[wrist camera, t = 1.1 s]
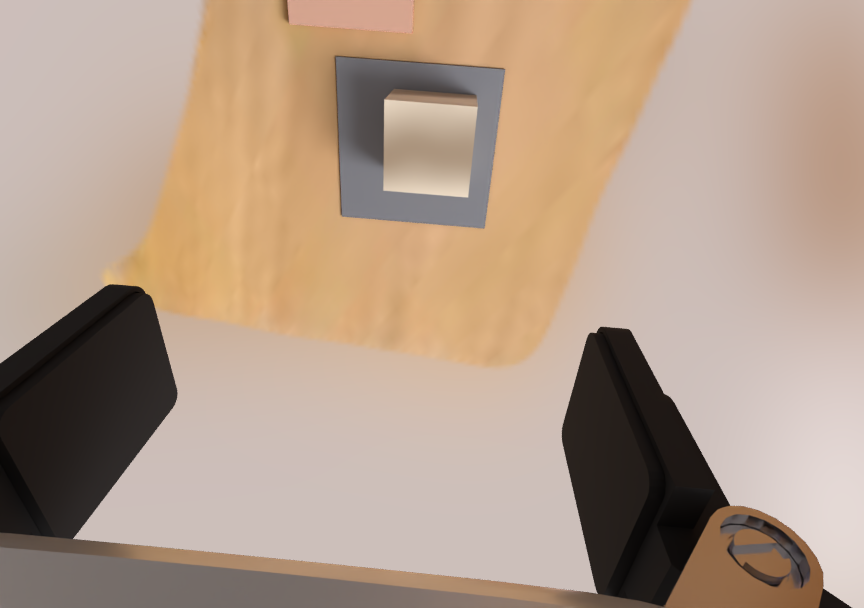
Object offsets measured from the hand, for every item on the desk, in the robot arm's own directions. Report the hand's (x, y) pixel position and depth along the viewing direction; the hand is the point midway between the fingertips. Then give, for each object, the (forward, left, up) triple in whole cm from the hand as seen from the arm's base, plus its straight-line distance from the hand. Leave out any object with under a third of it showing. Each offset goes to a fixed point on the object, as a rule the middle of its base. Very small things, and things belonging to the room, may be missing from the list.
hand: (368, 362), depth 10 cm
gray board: (+1, -1, -23) cm, 23 cm away
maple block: (0, 0, -23) cm, 23 cm away
